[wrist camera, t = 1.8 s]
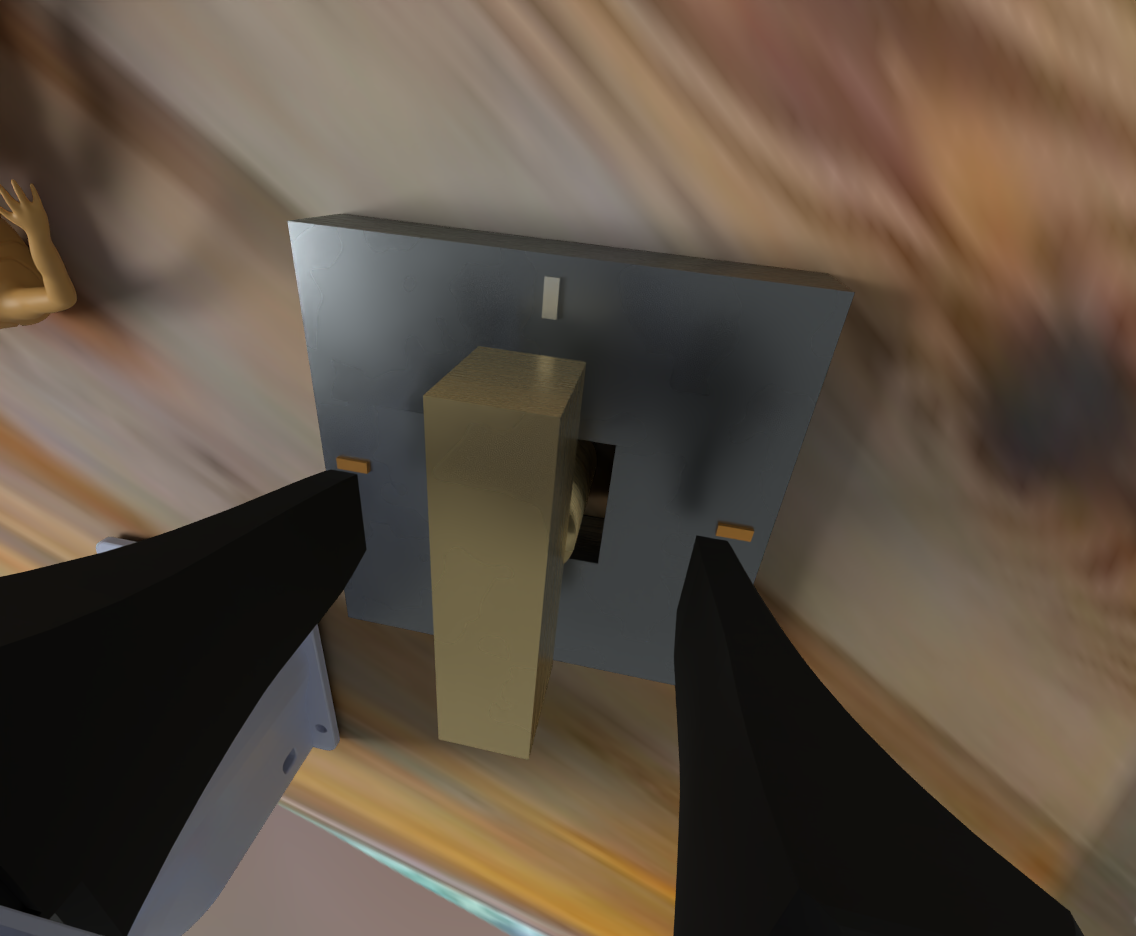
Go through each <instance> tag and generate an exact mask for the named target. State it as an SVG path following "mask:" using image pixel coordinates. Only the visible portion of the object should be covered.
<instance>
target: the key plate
mask: <svg viewBox="0 0 1136 936" xmlns="http://www.w3.org/2000/svg"><path fill="white" fill-rule="evenodd" d="M288 227H289V233H290V240H291V246H292V253H293V259H294V266H295V272H296V279H297V285H298V292H299V298H300V305H301V312H302V318H303V325H304V331H305V338H306V344H307V351H308V357H309V364H310V370H311V377H312V383H313V390H314V396H315V403H316V409H317V416H318V422H319V429H320V435H321V442H322V448H323V455H324V461H325V468H326V471H328V470H331V469H332V470H337V471H343V472H348V473H354V474H357V475H358V483H359V491H360V499H361V507H362V516H363V524H364V532H365V540H366V548H367V550H366V552H365V554H364V556H363V557H362V559H361V561H360V563H359V565H358V566H357V568H356V570H355V572H354V573H353V575H352V577H351V578H350V580H349V582H348V583H347V585H346V587H345V588H344V591H345V598H346V604H347V611H348V617H350V618H355V619H360V620H365V621H370V622H374V623H379V624H384V625H389V626H394V627H398V628H403V629H408V630H413V631H417V632H422V633H427V634H432V635H434V627H433V605H432V583H431V561H430V540H429V518H428V496H427V474H426V452H425V430H424V408H423V395H424V394H425V393H426V392H428V391H429V390H430V389H431V388H432V387H433V386H434V385H435V384H437V383H438V382H439V381H440V380H441V379H442V378H443V377H444V376H446V375H447V374H448V373H449V372H450V371H451V370H452V369H453V368H455V367H456V366H457V365H458V364H459V363H460V362H461V361H462V360H464V359H465V358H466V357H467V356H468V355H469V354H470V353H471V352H473V351H474V350H475V349H476V348H477V347H478V346H482V347H489V348H496V349H503V350H509V351H516V352H523V353H530V354H537V355H543V356H550V357H557V358H564V359H571V360H577V361H584V362H587V363H586V371H585V380H584V389H583V398H582V407H581V416H580V425H579V433H578V439H580V440H586V441H592V442H598V443H604V444H611V445H616V450H615V456H614V463H613V469H612V476H611V482H610V489H609V495H608V502H607V508H606V515H605V519H600V518H595V517H589V516H583V518H582V521H581V525H580V529H579V532H578V536H577V540H576V543H575V547H574V550H573V552H572V554H571V556H570V558H569V559H568V560H567V561H566V562H565V563H564V566H563V575H562V584H561V593H560V601H559V610H558V619H557V628H556V637H555V646H554V654H553V660H556V661H561V662H566V663H571V664H576V665H580V666H585V667H590V668H595V669H600V670H604V671H609V672H614V673H619V674H623V675H628V676H633V677H638V678H643V679H647V680H652V681H657V682H662V683H667V684H671V685H675V672H674V643H675V628H676V613H677V608H678V604H679V600H680V596H681V592H682V589H683V585H684V581H685V577H686V573H687V569H688V566H689V562H690V558H691V554H692V550H693V547H694V543H695V539H696V535H698V536H703V537H709V538H714V539H720V540H726V541H728V542H729V544H730V545H731V546H732V548H733V550H734V552H735V554H736V555H737V557H738V559H739V561H740V563H741V564H742V566H743V568H744V570H745V571H746V573H747V575H748V577H749V578H750V580H751V582H752V583H753V584H754V581H755V578H756V575H757V572H758V569H759V566H760V563H761V561H762V558H763V555H764V552H765V549H766V546H767V543H768V540H769V538H770V535H771V532H772V529H773V526H774V523H775V520H776V517H777V515H778V512H779V509H780V506H781V503H782V500H783V497H784V494H785V492H786V489H787V486H788V483H789V480H790V477H791V474H792V471H793V469H794V466H795V463H796V460H797V457H798V454H799V451H800V448H801V446H802V443H803V440H804V437H805V434H806V431H807V428H808V425H809V423H810V420H811V417H812V414H813V411H814V408H815V405H816V402H817V399H818V397H819V394H820V391H821V388H822V385H823V382H824V379H825V376H826V374H827V371H828V368H829V365H830V362H831V359H832V356H833V353H834V351H835V348H836V345H837V342H838V339H839V336H840V333H841V330H842V328H843V325H844V322H845V319H846V316H847V313H848V310H849V307H850V305H851V302H852V299H853V296H854V293H855V292H853V291H852V290H851V289H849V288H848V287H846V286H845V285H843V284H842V283H841V282H839V281H838V280H836V279H835V278H833V277H832V276H831V275H829V274H827V273H819V272H810V271H802V270H794V269H786V268H778V267H770V266H762V265H754V264H745V263H737V262H729V261H721V260H713V259H705V258H697V257H689V256H681V255H672V254H664V253H656V252H648V251H640V250H632V249H624V248H616V247H607V246H599V245H591V244H583V243H575V242H567V241H559V240H551V239H542V238H534V237H526V236H518V235H510V234H502V233H494V232H486V231H478V230H469V229H461V228H453V227H445V226H437V225H429V224H421V223H413V222H404V221H396V220H388V219H380V218H372V217H364V216H356V215H348V214H335V215H328V216H320V217H313V218H305V219H298V220H290V221H288Z"/></svg>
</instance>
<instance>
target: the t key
mask: <svg viewBox="0 0 1136 936" xmlns="http://www.w3.org/2000/svg"><path fill="white" fill-rule="evenodd" d="M586 363H587V362H584V361H577V360H571V359H564V358H557V357H550V356H543V355H537V354H530V353H523V352H516V351H509V350H503V349H496V348H489V347H482V346H478V347H477V348H476V349H475V350H474V351H473V352H471V353H470V354H469V355H468V356H467V357H466V358H465V359H464V360H462V361H461V362H460V363H459V364H458V365H457V366H456V367H455V368H453V369H452V370H451V371H450V372H449V373H448V374H447V375H446V376H444V377H443V378H442V379H441V380H440V381H439V382H438V383H437V384H435V385H434V386H433V387H432V388H431V389H430V390H429V391H428V392H426V393H425V394H424V395H423V408H424V430H425V452H426V474H427V496H428V518H429V540H430V561H431V583H432V605H433V627H434V649H435V671H436V693H437V715H438V737H439V739H440V740H444V741H448V742H453V743H457V744H461V745H466V746H470V747H474V748H479V749H483V750H487V751H492V752H496V753H500V754H505V755H509V756H513V757H518V758H522V759H526V760H529V756H530V752H531V748H532V744H533V740H534V736H535V732H536V728H537V724H538V720H539V716H540V713H541V709H542V705H543V701H544V697H545V693H546V689H547V685H548V681H549V677H550V673H551V669H552V663H553V654H554V646H555V637H556V628H557V619H558V610H559V601H560V593H561V584H562V575H563V566H564V563H565V562H566V561H567V560H568V559H569V558H570V556H571V554H572V552H573V550H574V547H575V543H576V540H577V536H578V532H579V529H580V525H581V521H582V518H583V514H584V511H585V507H586V503H587V500H588V496H589V492H590V489H591V485H592V481H593V478H594V474H595V470H596V466H597V455H596V450H595V447H594V445H593V443H592V441H586V440H580V439H578V433H579V425H580V416H581V407H582V398H583V389H584V380H585V371H586Z"/></svg>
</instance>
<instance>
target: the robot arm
mask: <svg viewBox="0 0 1136 936" xmlns="http://www.w3.org/2000/svg"><path fill="white" fill-rule="evenodd" d="M96 550H97V553H98V554H95V555H91V556H87V557H83V558H79V559H75V560H71V561H67V562H62V563H58V564H54V565H50V566H46V567H42V568H38V569H34V570H30V571H26V572H21V573H17V574H12V575H7V576H2V577H0V936H182V935H183V934H184V933H185V932H186V931H188V930H189V929H190V928H191V927H192V926H193V925H194V924H195V923H196V922H197V921H198V920H199V919H200V918H201V917H202V916H203V914H204V913H205V912H206V911H207V910H208V909H209V908H210V906H211V905H212V904H213V903H214V901H215V900H216V899H217V897H218V896H219V895H220V893H221V892H222V890H223V889H224V887H225V885H226V884H227V882H228V881H229V879H230V878H231V876H232V874H233V873H234V871H235V870H236V868H237V866H238V865H239V863H240V861H241V860H242V859H243V857H244V855H245V854H246V852H247V851H248V849H249V847H250V846H251V844H252V843H253V841H254V839H255V838H256V836H257V835H258V833H259V832H260V830H261V828H262V827H263V825H264V824H265V822H266V820H267V819H268V817H269V816H270V814H271V813H272V811H273V809H274V808H275V806H276V805H277V803H278V801H279V800H280V798H281V797H282V795H283V794H284V792H285V790H286V789H287V787H288V786H289V784H290V782H291V781H292V779H293V778H294V776H295V774H296V773H297V771H298V770H299V768H300V767H301V765H302V763H303V762H304V760H305V759H306V757H307V755H308V754H309V752H310V751H311V749H312V748H313V747H315V748H319V749H324V750H333V749H335V748H336V746H337V745H338V743H339V741H340V737H339V731H338V726H337V721H336V716H335V711H334V706H333V701H332V695H331V690H330V685H329V680H328V675H327V670H326V665H325V659H324V654H323V649H322V644H321V639H320V634H319V629H318V622H319V621H320V620H321V618H322V617H323V616H324V615H325V613H326V612H327V611H328V609H329V608H330V607H331V606H332V604H333V603H334V602H335V600H336V599H337V598H338V596H339V595H340V594H341V592H342V591H343V590H344V588H345V587H346V585H347V583H348V582H349V580H350V578H351V577H352V575H353V573H354V572H355V570H356V568H357V566H358V565H359V563H360V561H361V559H362V557H363V556H364V554H365V552H366V550H367V548H366V540H365V532H364V524H363V516H362V507H361V499H360V491H359V483H358V475H357V474H354V473H348V472H343V471H337V470H332V469H331V470H328V471H324V472H321V473H318V474H315V475H313V476H310V477H307V478H305V479H302V480H300V481H297V482H295V483H292V484H290V485H287V486H285V487H282V488H280V489H278V490H275V491H273V492H270V493H268V494H265V495H263V496H261V497H258V498H256V499H253V500H251V501H248V502H246V503H243V504H241V505H239V506H236V507H234V508H231V509H229V510H226V511H223V512H221V513H218V514H215V515H213V516H210V517H207V518H205V519H202V520H199V521H197V522H194V523H191V524H189V525H186V526H183V527H181V528H178V529H175V530H172V531H169V532H167V533H164V534H161V535H158V536H155V537H151V538H148V539H145V540H142V541H139V542H135V541H130V540H125V539H120V538H115V537H107V538H105V539H103V540H102V541H100V542H99V543H97V545H96ZM674 672H675V691H676V709H677V726H678V744H679V761H680V808H679V834H678V858H677V879H676V900H675V919H674V936H1084V935H1083V933H1082V931H1081V930H1080V928H1079V926H1078V925H1077V923H1076V921H1075V920H1074V918H1073V916H1072V915H1071V913H1070V911H1069V910H1067V909H1066V908H1065V907H1064V906H1063V905H1061V904H1060V903H1059V902H1058V901H1056V900H1055V899H1054V898H1053V897H1051V896H1050V895H1049V894H1048V893H1046V892H1045V891H1044V890H1043V889H1042V888H1040V887H1039V886H1038V885H1037V884H1035V883H1034V882H1033V881H1032V880H1030V879H1029V878H1028V877H1027V876H1025V875H1024V874H1023V873H1022V872H1021V871H1019V870H1018V869H1017V868H1016V867H1014V866H1013V865H1012V864H1011V863H1009V862H1008V861H1007V860H1006V859H1004V858H1003V857H1002V856H1001V855H1000V854H998V853H997V852H996V851H995V850H993V849H992V848H991V847H990V846H988V845H987V844H986V843H985V842H983V841H982V840H981V839H980V838H979V837H978V836H976V835H975V834H974V833H973V832H972V831H971V830H969V829H968V828H967V827H966V826H965V825H964V824H963V823H961V822H960V821H959V820H958V819H957V818H956V817H955V816H954V815H953V814H951V813H950V812H949V811H948V810H947V809H946V808H945V807H944V806H942V805H941V804H940V803H939V802H938V801H937V800H936V799H935V798H933V797H932V796H931V795H930V794H929V793H928V792H927V791H926V790H925V789H924V788H923V787H921V786H920V785H919V784H918V783H917V782H916V781H915V780H914V779H913V778H912V777H911V776H910V775H909V774H908V773H907V772H906V771H904V770H903V769H902V768H901V767H900V766H899V765H898V764H897V763H896V762H895V761H894V760H893V759H892V758H891V757H890V756H889V755H888V754H887V753H886V752H885V751H884V750H883V749H882V748H881V747H880V746H879V745H878V744H877V743H876V742H875V741H874V740H873V738H872V737H871V736H870V735H869V734H868V733H867V732H866V731H865V730H864V729H863V728H862V727H861V726H860V725H859V724H858V723H857V722H856V721H855V720H854V719H853V718H852V716H851V715H850V714H849V713H848V712H847V711H846V710H845V709H844V708H843V706H842V705H841V704H840V703H839V702H838V701H837V699H836V698H835V697H834V696H833V695H832V694H831V692H830V691H829V690H828V689H827V688H826V687H825V686H824V684H823V683H822V682H821V681H820V680H819V679H818V677H817V676H816V675H815V674H814V672H813V671H812V670H811V669H810V667H809V666H808V665H807V663H806V662H805V661H804V659H803V658H802V657H801V655H800V654H799V653H798V651H797V650H796V649H795V647H794V646H793V644H792V643H791V642H790V640H789V639H788V637H787V636H786V635H785V633H784V632H783V630H782V629H781V627H780V626H779V624H778V623H777V621H776V620H775V618H774V617H773V615H772V614H771V612H770V611H769V609H768V607H767V606H766V604H765V603H764V601H763V600H762V598H761V597H760V595H759V593H758V592H757V590H756V588H755V587H754V585H753V583H752V582H751V580H750V578H749V577H748V575H747V573H746V571H745V570H744V568H743V566H742V564H741V563H740V561H739V559H738V557H737V555H736V554H735V552H734V550H733V548H732V546H731V545H730V544H729V542H728V541H726V540H720V539H714V538H709V537H703V536H698V535H696V539H695V543H694V547H693V550H692V554H691V558H690V562H689V566H688V569H687V573H686V577H685V581H684V585H683V589H682V592H681V596H680V600H679V604H678V608H677V613H676V628H675V643H674Z"/></svg>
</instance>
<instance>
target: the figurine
mask: <svg viewBox="0 0 1136 936" xmlns="http://www.w3.org/2000/svg"><path fill="white" fill-rule="evenodd" d="M11 184H12V186H13V188H14V191H15V193H16V195H17V197H18V199H19V201H20V202H17V201H16V200H15V199H13V198H12V197H11V195H10V194H9V193H8V192H7V191H6V190H5V189H4V188H3V187H2V186H1V184H0V193H1V195H2V196H3V198H4V200H5V201H6V203H7V204H8V206H9V207H10V208H11V210H12V211H13V212H8V211H7V210H5V209H4V208H2V207H1V206H0V213H1V214H2V215H3V216H4V217H6V218H7V219H8V220H10V221H11V222H13V223H14V224H16V225H18V226H19V227H21V228H22V229H23V230H24V231H25V232H26V234H27V236H28V241H29V247H30V250H29V248H28V246H27V245H26V244H25V242H24V241H23V240H22V238H21V237H20V236H19V235H18V234H17V232H16V231H15V230H14V229H13V228H12V227H11V226H10V225H9V224H8V223H7V222H6V221H5V220H4V219H3V218H1V214H0V329H3V328H10V327H17V326H18V325H19V324H20V325H22V326H27V325H32V324H36V323H39V322H41V321H43V320H44V319H46V318H47V317H48V316H49V315H50V313H55V312H59V311H63V310H66V309H69V308H70V307H72V306H73V305H74V304H75V303H76V301H77V295H76V291H75V288H74V286H73V284H72V282H71V280H70V278H69V276H68V274H67V271H66V268H65V265H64V263H63V261H62V259H61V257H60V255H59V253H58V251H57V249H56V248H55V246H54V244H53V243H52V241H51V238H50V227H49V222H48V217H47V214H46V212H45V210H44V208H43V205H42V202H41V199H40V197H39V195H38V193H37V191H36V189H35V187H34V185H33V184H30V188H31V192H32V195H33V201H32V202H30V201H29V200H28V199H27V197H26V195H25V194H24V192H23V191H22V189H21V188H20V186H19V185H18V184H17V182H16V181H15V180H13V179H12V180H11Z"/></svg>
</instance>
